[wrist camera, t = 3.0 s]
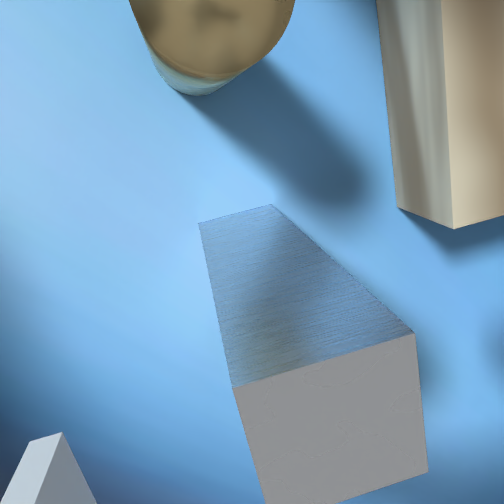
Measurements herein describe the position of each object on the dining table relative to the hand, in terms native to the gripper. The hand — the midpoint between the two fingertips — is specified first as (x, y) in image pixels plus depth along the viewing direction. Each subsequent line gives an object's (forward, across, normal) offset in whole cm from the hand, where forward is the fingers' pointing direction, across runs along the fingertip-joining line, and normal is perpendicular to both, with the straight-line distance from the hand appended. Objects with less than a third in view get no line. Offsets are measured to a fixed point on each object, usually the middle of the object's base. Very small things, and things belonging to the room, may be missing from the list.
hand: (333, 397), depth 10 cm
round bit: (+13, 0, +10) cm, 16 cm away
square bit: (+13, 0, 0) cm, 13 cm away
